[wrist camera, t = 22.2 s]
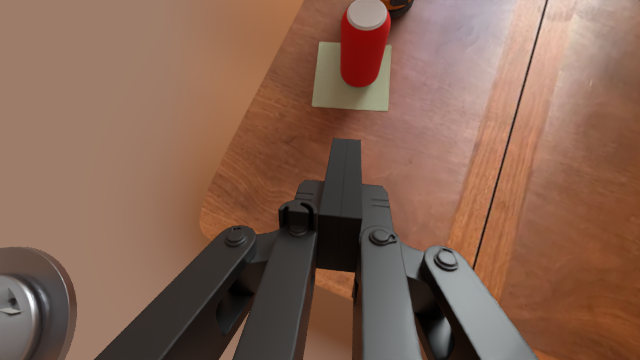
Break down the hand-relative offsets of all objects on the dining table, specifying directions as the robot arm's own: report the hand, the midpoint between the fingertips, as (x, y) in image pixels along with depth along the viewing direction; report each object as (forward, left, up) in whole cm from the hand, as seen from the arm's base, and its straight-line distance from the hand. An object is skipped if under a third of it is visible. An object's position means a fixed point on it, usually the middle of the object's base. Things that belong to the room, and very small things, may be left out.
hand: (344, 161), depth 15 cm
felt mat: (0, +22, -24) cm, 33 cm away
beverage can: (+1, +22, -24) cm, 33 cm away
